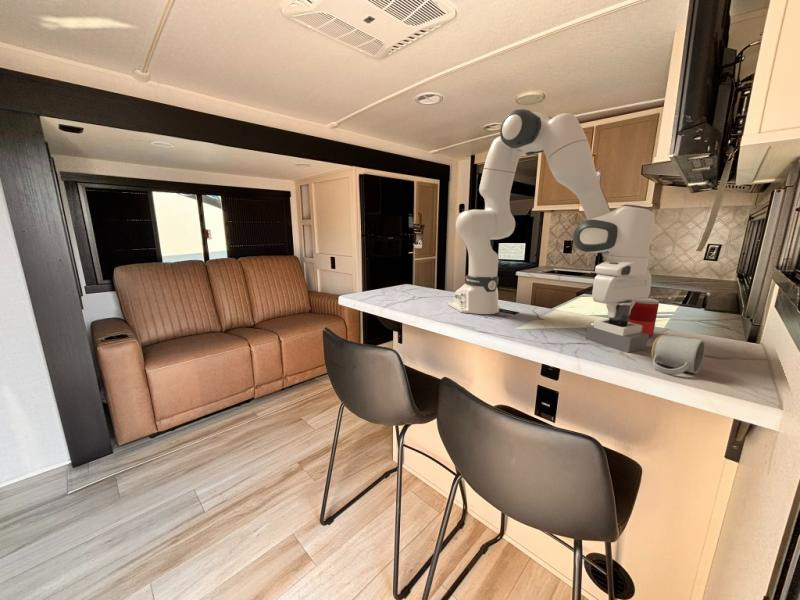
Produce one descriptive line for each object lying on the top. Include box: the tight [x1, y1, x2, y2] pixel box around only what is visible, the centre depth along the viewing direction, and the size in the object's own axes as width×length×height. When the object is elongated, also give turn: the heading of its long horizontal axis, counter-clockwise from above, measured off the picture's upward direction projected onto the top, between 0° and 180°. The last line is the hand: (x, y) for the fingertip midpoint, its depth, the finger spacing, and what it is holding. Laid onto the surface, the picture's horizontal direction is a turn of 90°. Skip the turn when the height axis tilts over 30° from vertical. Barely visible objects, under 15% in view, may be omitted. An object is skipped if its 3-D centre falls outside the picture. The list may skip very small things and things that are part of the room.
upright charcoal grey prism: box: [608, 300, 632, 327], centre depth 87 cm, size 5×5×8 cm
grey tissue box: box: [585, 318, 649, 353], centre depth 88 cm, size 12×8×6 cm, turn 24°
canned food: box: [628, 297, 660, 338], centre depth 97 cm, size 8×8×11 cm
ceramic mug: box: [651, 334, 706, 376], centre depth 72 cm, size 11×8×8 cm
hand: (618, 316), depth 87 cm, fingers closed on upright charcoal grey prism, 4 cm apart
